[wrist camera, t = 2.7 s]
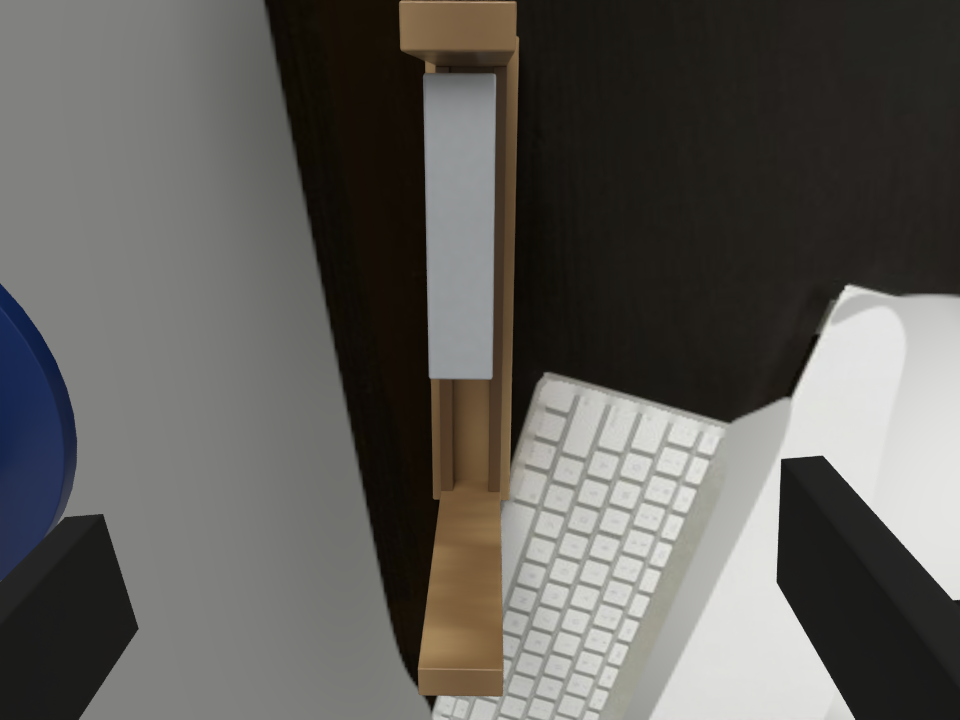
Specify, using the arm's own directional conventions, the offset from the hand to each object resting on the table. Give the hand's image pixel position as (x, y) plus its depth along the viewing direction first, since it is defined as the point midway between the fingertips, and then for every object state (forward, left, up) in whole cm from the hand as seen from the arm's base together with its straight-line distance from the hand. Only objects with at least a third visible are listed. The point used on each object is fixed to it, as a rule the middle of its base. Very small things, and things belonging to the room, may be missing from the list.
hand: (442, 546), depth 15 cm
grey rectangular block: (0, +4, -22) cm, 22 cm away
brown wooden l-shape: (0, -1, -24) cm, 24 cm away
